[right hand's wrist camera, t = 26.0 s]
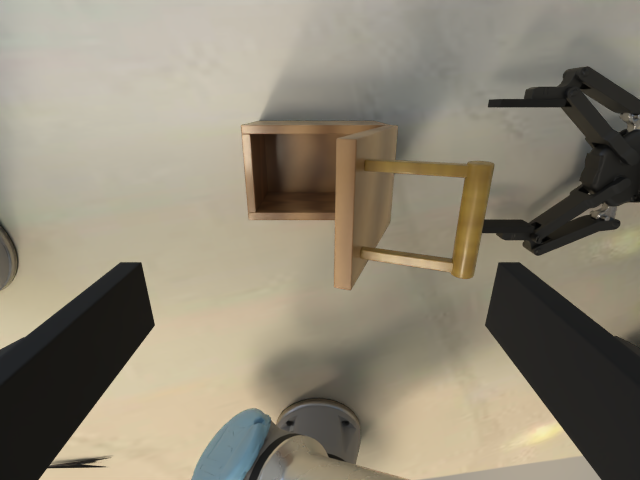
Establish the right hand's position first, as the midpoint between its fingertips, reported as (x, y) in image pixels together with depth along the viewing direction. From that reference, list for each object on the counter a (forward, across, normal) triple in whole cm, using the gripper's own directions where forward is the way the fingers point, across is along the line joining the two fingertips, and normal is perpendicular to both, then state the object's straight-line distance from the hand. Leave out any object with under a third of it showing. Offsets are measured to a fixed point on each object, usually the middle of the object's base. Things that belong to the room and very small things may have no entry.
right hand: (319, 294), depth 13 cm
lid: (+16, -4, 0) cm, 16 cm away
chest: (+33, 0, 0) cm, 33 cm away
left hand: (+27, -18, 0) cm, 33 cm away
